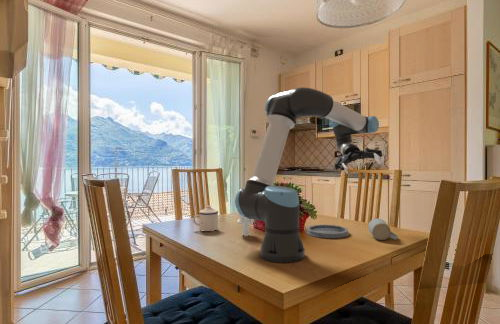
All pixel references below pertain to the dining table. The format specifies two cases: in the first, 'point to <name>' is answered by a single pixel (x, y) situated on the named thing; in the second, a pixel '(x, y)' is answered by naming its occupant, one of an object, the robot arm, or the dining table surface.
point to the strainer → (244, 224)
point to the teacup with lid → (208, 219)
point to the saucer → (327, 231)
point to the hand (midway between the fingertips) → (363, 166)
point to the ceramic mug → (381, 230)
